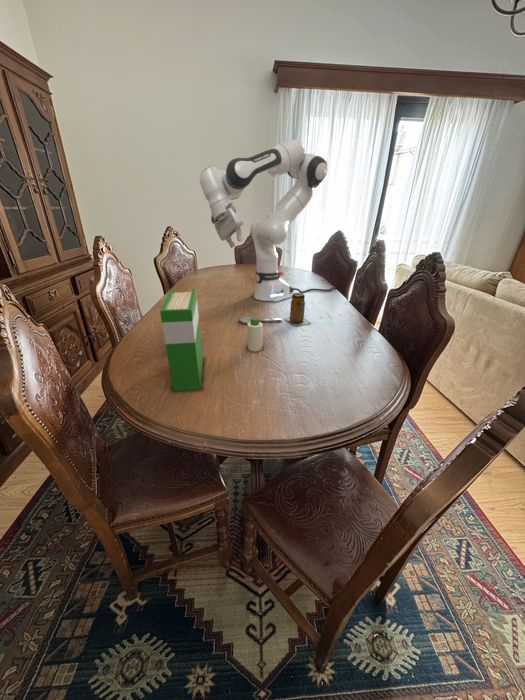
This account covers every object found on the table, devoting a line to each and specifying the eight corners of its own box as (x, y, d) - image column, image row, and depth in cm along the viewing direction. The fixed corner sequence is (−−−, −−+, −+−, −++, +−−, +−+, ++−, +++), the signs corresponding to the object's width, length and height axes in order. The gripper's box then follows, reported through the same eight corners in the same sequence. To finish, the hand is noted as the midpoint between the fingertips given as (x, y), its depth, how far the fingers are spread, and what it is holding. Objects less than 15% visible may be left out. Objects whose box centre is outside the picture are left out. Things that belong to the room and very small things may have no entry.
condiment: (299, 317, 131) (301, 291, 126) (309, 323, 125) (312, 296, 119) (285, 319, 128) (286, 293, 123) (295, 326, 122) (297, 299, 116)
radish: (257, 343, 107) (257, 314, 102) (264, 349, 103) (265, 319, 98) (245, 347, 105) (244, 317, 99) (252, 352, 101) (252, 322, 95)
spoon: (281, 319, 129) (281, 316, 128) (282, 324, 123) (282, 321, 122) (240, 318, 128) (240, 315, 128) (239, 324, 123) (239, 321, 122)
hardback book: (180, 359, 96) (170, 289, 84) (202, 358, 97) (195, 289, 85) (173, 391, 80) (159, 310, 69) (200, 389, 81) (191, 309, 70)
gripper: (238, 197, 109) (252, 233, 112) (222, 218, 128) (235, 248, 131) (224, 202, 107) (239, 238, 110) (209, 222, 125) (223, 252, 128)
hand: (236, 243), depth 120 cm, fingers open, 8 cm apart
